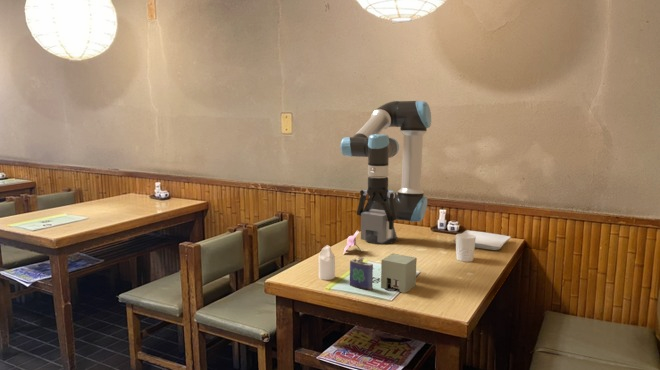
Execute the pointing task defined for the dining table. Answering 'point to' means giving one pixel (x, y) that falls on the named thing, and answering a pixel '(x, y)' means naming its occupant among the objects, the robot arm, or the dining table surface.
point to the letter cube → (395, 283)
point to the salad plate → (488, 240)
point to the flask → (361, 274)
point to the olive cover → (399, 271)
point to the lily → (351, 241)
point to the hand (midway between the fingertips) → (377, 235)
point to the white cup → (465, 247)
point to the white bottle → (326, 264)
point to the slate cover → (374, 225)
